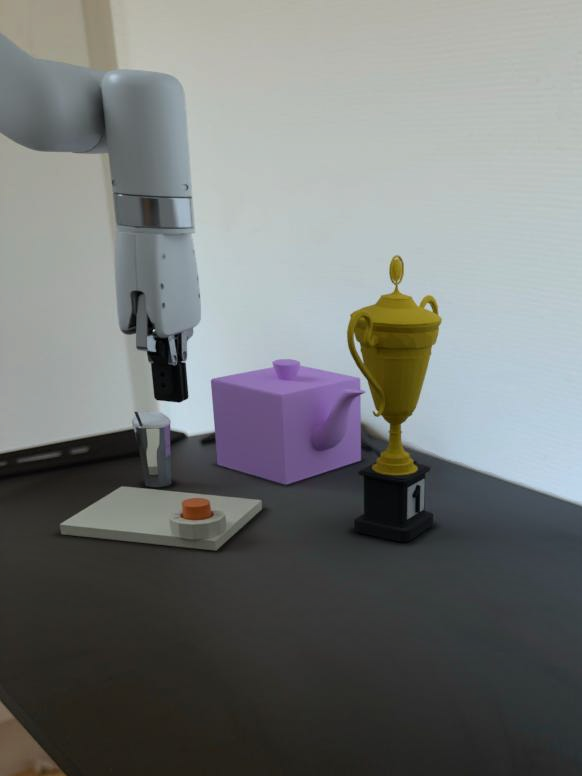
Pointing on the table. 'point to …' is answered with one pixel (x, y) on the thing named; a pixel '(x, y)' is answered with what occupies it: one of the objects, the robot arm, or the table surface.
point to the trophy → (394, 405)
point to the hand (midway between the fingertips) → (171, 399)
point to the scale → (161, 518)
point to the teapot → (287, 421)
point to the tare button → (196, 509)
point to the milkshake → (153, 447)
